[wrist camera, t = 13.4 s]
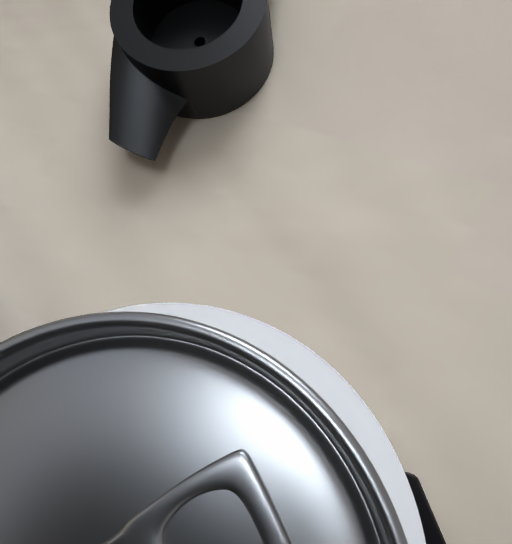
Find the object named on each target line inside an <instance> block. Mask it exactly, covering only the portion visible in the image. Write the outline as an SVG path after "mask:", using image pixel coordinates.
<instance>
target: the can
mask: <svg viewBox="0 0 512 544" xmlns="http://www.w3.org/2000/svg"><path fill="white" fill-rule="evenodd" d="M0 544H426V541H425V536H424V532H423V527H422V523H421V519H420V516H419V512H418V508H417V505H416V502H415V499H414V496H413V493H412V490H411V487H410V485H409V482H408V479H407V477H406V475H405V472H404V470H403V467H402V465H401V463H400V461H399V459H398V457H397V455H396V453H395V450H394V449H393V447H392V445H391V443H390V441H389V439H388V437H387V436H386V434H385V432H384V430H383V429H382V427H381V425H380V424H379V422H378V421H377V419H376V418H375V416H374V415H373V413H372V412H371V411H370V409H369V408H368V406H367V405H366V404H365V402H364V401H363V400H362V399H361V397H360V396H359V395H358V394H357V392H356V391H355V390H354V389H353V388H352V387H351V386H350V384H349V383H348V382H347V381H346V380H345V379H344V378H343V377H342V376H341V375H340V374H339V373H338V372H337V371H336V370H335V369H334V368H333V367H332V366H330V365H329V364H328V363H327V362H326V361H325V360H324V359H322V358H321V357H320V356H319V355H317V354H316V353H315V352H313V351H312V350H311V349H309V348H308V347H306V346H305V345H304V344H302V343H301V342H299V341H297V340H296V339H294V338H293V337H291V336H289V335H288V334H286V333H284V332H282V331H280V330H278V329H276V328H274V327H272V326H270V325H268V324H266V323H264V322H261V321H259V320H256V319H254V318H251V317H248V316H245V315H242V314H239V313H236V312H233V311H229V310H225V309H221V308H217V307H211V306H206V305H199V304H189V303H150V304H141V305H134V306H128V307H123V308H119V309H114V310H110V311H107V312H103V313H94V314H86V315H80V316H75V317H70V318H66V319H61V320H58V321H54V322H50V323H47V324H44V325H41V326H38V327H35V328H32V329H30V330H27V331H24V332H22V333H20V334H18V335H15V336H13V337H11V338H9V339H7V340H5V341H3V342H1V343H0Z"/></svg>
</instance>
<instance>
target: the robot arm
mask: <svg viewBox="0 0 512 544" xmlns="http://www.w3.org/2000/svg"><path fill="white" fill-rule="evenodd" d="M404 472H405V471H404ZM405 475H406V477H407V479H408V482H409V485H410V487H411V490H412V493H413V496H414V499H415V502H416V505H417V508H418V512H419V516H420V519H421V523H422V527H423V532H424V536H425V541H426V544H446V543H445V540H444V538H443V535H442V533H441V531H440V528H439V526H438V524H437V521H436V519H435V517H434V514H433V512H432V510H431V507H430V505H429V503H428V500H427V498H426V496H425V493H424V491H423V489H422V486H421V484H420V482H419V479H418V478H417V477H416V476H415V475H413V474H411V473H408V472H405Z"/></svg>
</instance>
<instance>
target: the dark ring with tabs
mask: <svg viewBox="0 0 512 544" xmlns="http://www.w3.org/2000/svg"><path fill="white" fill-rule="evenodd" d="M110 23H111V28H112V31H113V34H114V39H113V48H112V58H111V73H110V119H109V140H111V141H112V142H114V143H115V144H117V145H119V146H120V147H122V148H124V149H126V150H128V151H130V152H132V153H134V154H137V155H139V156H141V157H144V158H147V159H150V160H153V161H155V160H156V158H157V155H158V153H159V150H160V148H161V145H162V143H163V141H164V139H165V136H166V134H167V132H168V130H169V128H170V126H171V125H172V123H173V121H174V119H175V118H176V116H181V117H186V118H210V117H215V116H219V115H222V114H225V113H228V112H230V111H232V110H234V109H236V108H238V107H240V106H241V105H243V104H244V103H246V102H247V101H248V100H250V99H251V98H252V97H253V96H254V95H255V94H256V93H257V92H258V91H259V89H260V88H261V87H262V85H263V84H264V82H265V81H266V79H267V77H268V75H269V73H270V70H271V67H272V62H273V40H272V31H271V21H270V12H269V3H268V0H111V5H110Z"/></svg>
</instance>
